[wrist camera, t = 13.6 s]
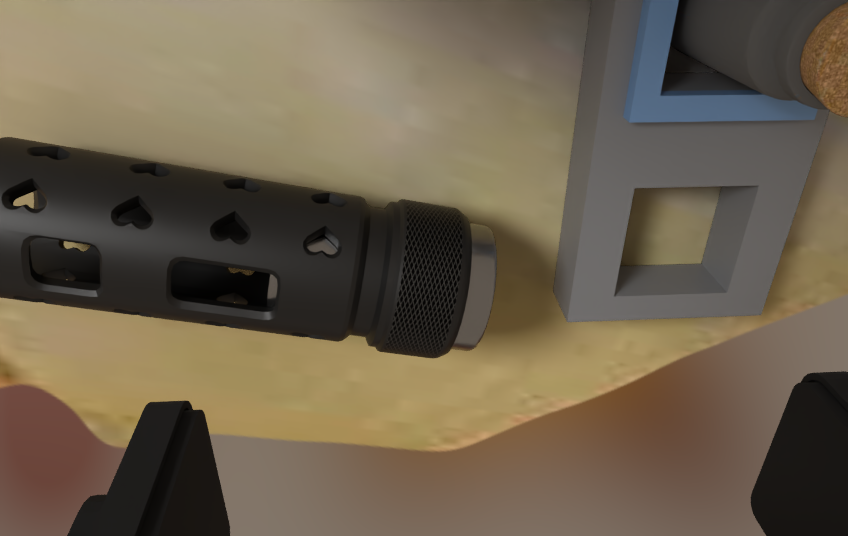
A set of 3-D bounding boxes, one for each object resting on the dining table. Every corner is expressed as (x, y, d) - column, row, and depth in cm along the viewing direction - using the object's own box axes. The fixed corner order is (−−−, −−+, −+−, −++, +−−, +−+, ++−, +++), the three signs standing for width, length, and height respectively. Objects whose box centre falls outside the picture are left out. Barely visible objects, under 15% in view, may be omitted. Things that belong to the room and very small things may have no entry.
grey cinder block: (606, -114, 35) (640, -114, 30) (852, -111, 36) (918, -111, 31) (552, 291, 48) (571, 330, 44) (733, 285, 49) (768, 323, 45)
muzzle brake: (37, 105, 38) (-62, 169, 30) (483, 185, 43) (513, 261, 34) (48, 243, 43) (-35, 334, 34) (450, 301, 48) (468, 395, 39)
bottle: (694, -70, 36) (876, -48, 23) (774, -25, 38) (986, 19, 25) (637, 30, 39) (772, 100, 26) (714, 69, 40) (878, 152, 27)
